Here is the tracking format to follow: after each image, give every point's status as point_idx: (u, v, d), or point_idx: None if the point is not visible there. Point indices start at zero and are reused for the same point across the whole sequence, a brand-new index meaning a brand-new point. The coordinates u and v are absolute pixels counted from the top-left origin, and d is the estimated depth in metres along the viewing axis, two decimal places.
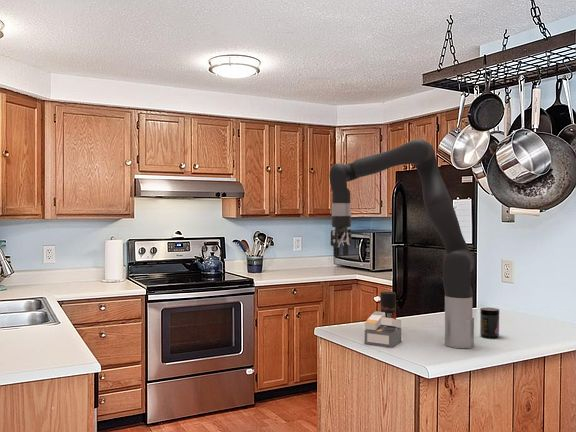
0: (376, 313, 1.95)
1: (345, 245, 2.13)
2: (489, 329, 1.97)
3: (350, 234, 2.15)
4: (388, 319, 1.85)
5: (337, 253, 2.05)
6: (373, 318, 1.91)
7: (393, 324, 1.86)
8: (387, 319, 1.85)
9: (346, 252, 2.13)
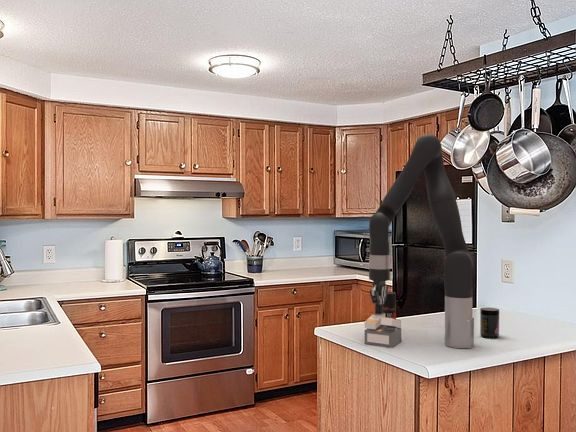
0: None
1: None
2: (489, 329, 1.97)
3: (386, 291, 2.00)
4: (388, 319, 1.85)
5: (379, 311, 1.95)
6: (373, 318, 1.92)
7: (393, 324, 1.86)
8: (387, 319, 1.85)
9: None
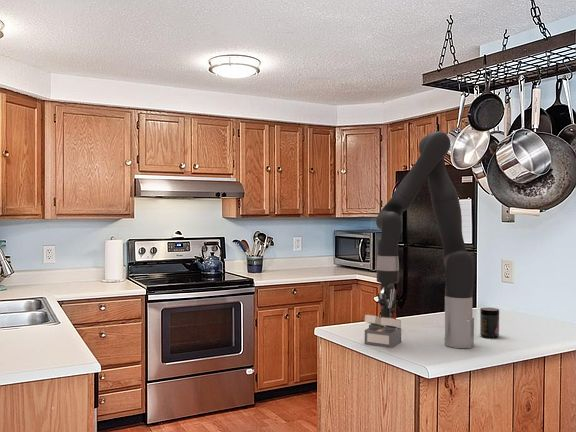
0: None
1: None
2: (489, 329, 1.97)
3: (394, 294, 1.90)
4: (388, 319, 1.85)
5: (387, 315, 1.85)
6: None
7: (393, 324, 1.86)
8: (387, 319, 1.85)
9: None
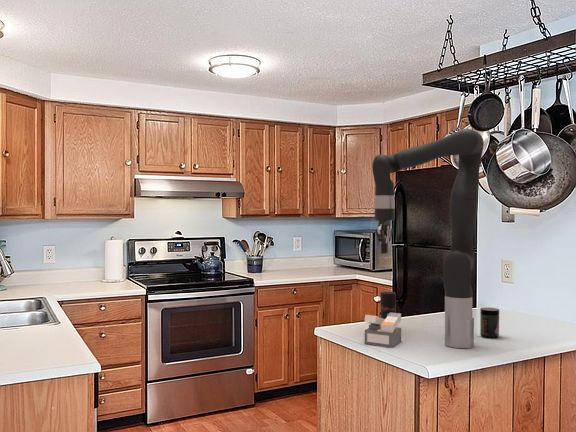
0: None
1: None
2: (489, 329, 1.97)
3: (391, 232, 2.06)
4: (388, 327, 1.85)
5: (385, 249, 2.02)
6: None
7: (393, 329, 1.86)
8: (387, 327, 1.85)
9: None
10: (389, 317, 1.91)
